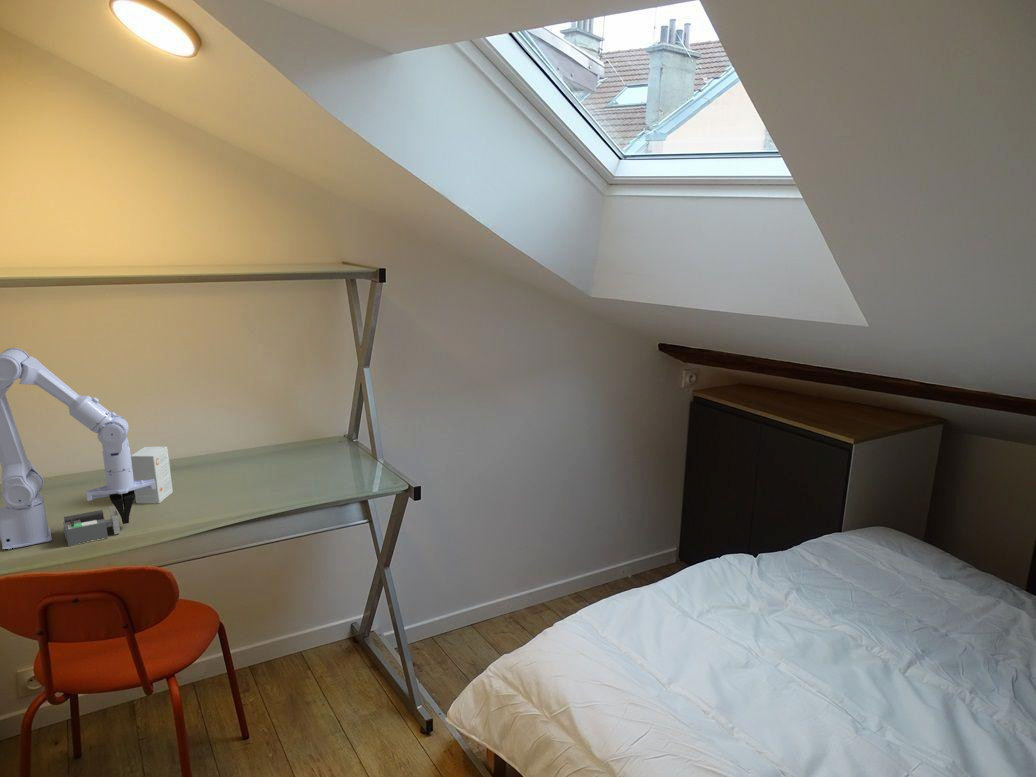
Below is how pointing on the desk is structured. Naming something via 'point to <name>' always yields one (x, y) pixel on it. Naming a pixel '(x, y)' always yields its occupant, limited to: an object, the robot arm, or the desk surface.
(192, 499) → the desk surface
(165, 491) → the small box
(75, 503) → the desk surface
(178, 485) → the desk surface
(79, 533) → the gauge housing
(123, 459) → the robot arm
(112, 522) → the plunger
